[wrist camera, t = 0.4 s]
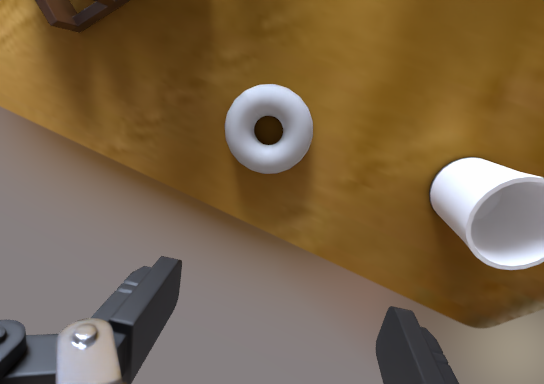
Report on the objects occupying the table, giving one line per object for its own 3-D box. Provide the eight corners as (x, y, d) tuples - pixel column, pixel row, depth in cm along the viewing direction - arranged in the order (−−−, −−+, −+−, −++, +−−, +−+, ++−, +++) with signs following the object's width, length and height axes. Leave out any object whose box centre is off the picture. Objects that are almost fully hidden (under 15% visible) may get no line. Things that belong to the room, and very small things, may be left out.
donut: (272, 185, 40) (331, 126, 37) (269, 194, 37) (333, 130, 34) (211, 130, 39) (267, 64, 36) (203, 134, 36) (263, 62, 32)
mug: (414, 215, 40) (450, 257, 30) (441, 145, 37) (491, 165, 27) (502, 236, 39) (567, 285, 30) (536, 167, 36) (621, 195, 27)
